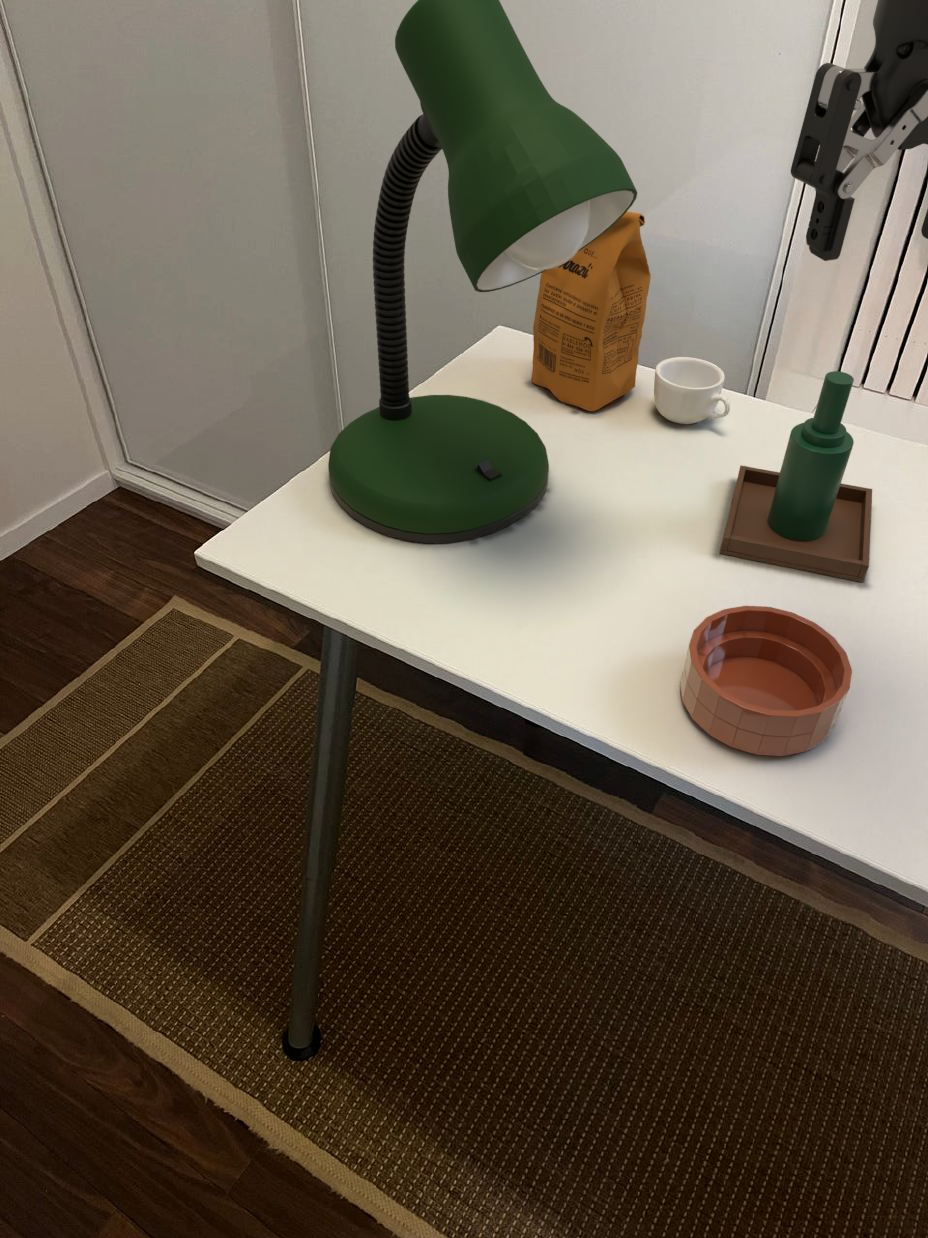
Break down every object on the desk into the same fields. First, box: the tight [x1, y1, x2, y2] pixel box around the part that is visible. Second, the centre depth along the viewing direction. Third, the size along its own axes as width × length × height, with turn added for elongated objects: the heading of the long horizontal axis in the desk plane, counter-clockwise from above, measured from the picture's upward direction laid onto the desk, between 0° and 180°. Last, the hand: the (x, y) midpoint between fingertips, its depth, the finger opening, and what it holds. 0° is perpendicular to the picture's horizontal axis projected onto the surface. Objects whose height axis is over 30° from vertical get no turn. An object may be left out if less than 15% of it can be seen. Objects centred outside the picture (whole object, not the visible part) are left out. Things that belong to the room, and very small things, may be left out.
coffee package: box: [531, 211, 652, 412], centre depth 108 cm, size 10×12×22 cm
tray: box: [719, 465, 873, 583], centre depth 93 cm, size 13×13×2 cm
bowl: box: [679, 605, 853, 757], centre depth 75 cm, size 12×12×5 cm
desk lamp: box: [327, 0, 638, 544], centre depth 83 cm, size 31×23×45 cm
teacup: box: [653, 356, 731, 425], centre depth 108 cm, size 10×8×5 cm
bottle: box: [768, 370, 855, 541], centre depth 88 cm, size 6×6×16 cm
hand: (880, 247), depth 59 cm, fingers open, 8 cm apart
